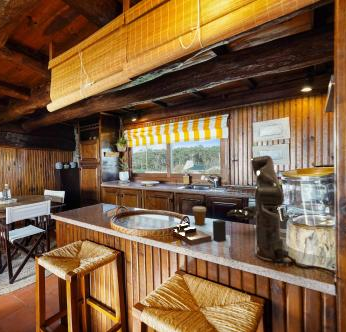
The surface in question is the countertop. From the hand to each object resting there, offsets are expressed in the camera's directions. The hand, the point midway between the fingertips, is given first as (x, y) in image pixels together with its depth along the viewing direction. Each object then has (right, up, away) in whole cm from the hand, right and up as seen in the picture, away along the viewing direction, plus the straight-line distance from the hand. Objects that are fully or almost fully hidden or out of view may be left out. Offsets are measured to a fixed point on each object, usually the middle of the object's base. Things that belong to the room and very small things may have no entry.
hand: (233, 216), depth 125 cm
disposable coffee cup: (-10, -12, +27) cm, 32 cm away
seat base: (-25, -13, +1) cm, 28 cm away
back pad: (-10, -13, -4) cm, 17 cm away
